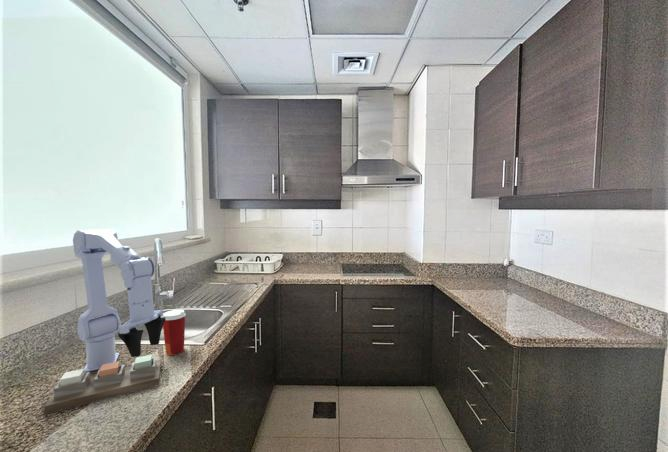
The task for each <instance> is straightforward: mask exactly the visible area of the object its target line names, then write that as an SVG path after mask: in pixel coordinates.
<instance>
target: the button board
mask: <svg viewBox="0 0 668 452" xmlns="http://www.w3.org/2000/svg"><path fill="white" fill-rule="evenodd" d="M161 363H162V362H161V359H159V360H157V357H152V366H149V367H145V368H141V369H136V370H135V365H134V364H135V361H133V362H132V363H131V366H126V367H125V363H123V364H120V370H119V373H118V374H114V375H109V376H105V377H100V378H99V370H100V369H98V371H97V372H96V373H94V374H91V371H89V372H84V376H85V377H84V379H83V380H82V382H78V383H74V384H69V385H65V386H60V380H59V381H58V382H57V384H56V385H55V387H54V388H53V393H52V394H51V396H50V397H49V399H48V400H47V401H46V403H45V405H44V407H43V408H44V414H45V415H46V414H51V413H54V412H55V413H56V412H59V411H63V410H68V409H70V408H74V407H78V406H82V405H86V404H90V403H94V402H97V401H98V402H99V401H102V400H105V399H106V400H107V399H110V398H114V397H117V395H118V396H122V395H125V394H130V393H133V392H139V391H142V390H144V389H149V388H155V387H157V386H160V379H161V365H162V364H161Z"/></svg>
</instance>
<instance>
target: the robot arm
mask: <svg viewBox="0 0 668 452" xmlns="http://www.w3.org/2000/svg"><path fill="white" fill-rule="evenodd" d="M72 245H73V251H74V256H75V257H77V258H80V259H81V263H82V270H83V279H84V286H85V292H86V302H87V310H85V311H84V312H83V313H82V314H81V315H80V316H79V317H78V319H77V330H76V331H77V336H78V338H79V340H81V341H82V342H85V353H86V357H85V359H86V364H85V366H84V368H83V369H84V373H85V372H93V371H97V370H99V369H100V368H101V366H102V365H103V364H108V363H113V362H118V359H119V355H120V353H119V352H116V338H115V336H118V338H119V339H120V340H121V341H122V342H123V343H124V345H125V346H126V348H127V350H128V352H129V354H130V357H131V358H137V357H141V354H142V353H141V352H142V337H143V333H144V329H137V328H139V327H141V326H143V325H144V326H145V328H146V332H147V334H148V340H149V344H150V346H157V345H159V344H160V340H161V335H162V331H163V325H164V322H165V321H166V319H165V317H162V316H163V314H164V310H163V309H157V310H155V305H154V296H153V295H154V294H153V287H152V286H153V284H152V277H153V276H154V275H155V272H156V271H155V270H156V269H155V268H156V267H155V263H154V261H153V259H152V258H151V257H150V256H140V255H139V253H137V252H136V251H135V250H134V249H133V248H131V247H130V246H129V245H123V244H121V242H119V240H118V234H117V232H116V231H115V229H113V228H107V229H105V228H104V229H103V228H102V229H87V230H85V229H83V230H82V229H78V230H76V231H75V232H74V234H73V237H72ZM107 254H109V255H110V260H111V262H112V263H113V264H114V265H115V266H116V267H117V268H119V269H120V275H121V277H122V281H123V284H124V287H125V288H126V289H127V300H128V311H129V320H127V321H125V322H124V323H123V324H122V322H121V318H120V316H119V313H118V309H117V308H114V307H111V306H109V305H108V297H107V291H106V282H105V276H104V268H103V261H102V260H103V258H104V256H106V255H107ZM161 317H162V318H161ZM117 332H118V333H117ZM117 334H118V335H117Z"/></svg>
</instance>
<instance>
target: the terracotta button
mask: <svg viewBox="0 0 668 452" xmlns="http://www.w3.org/2000/svg"><path fill="white" fill-rule="evenodd" d="M120 365H121V364H120V360H119V361H118V360H117V361H116V362H113V363H108V364H103V365H102V366H101V368H100V370H99V369H98V370H99V378H100V377H105V376H109V375H114V374H118V373H119V370H120Z"/></svg>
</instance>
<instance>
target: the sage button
mask: <svg viewBox="0 0 668 452" xmlns="http://www.w3.org/2000/svg"><path fill="white" fill-rule="evenodd" d="M152 358H153V354H147V355H142V356H138V357H135V359H134V362H135V364H134V365H135V370H136V369H141V368H145V367H149V366H152Z"/></svg>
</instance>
